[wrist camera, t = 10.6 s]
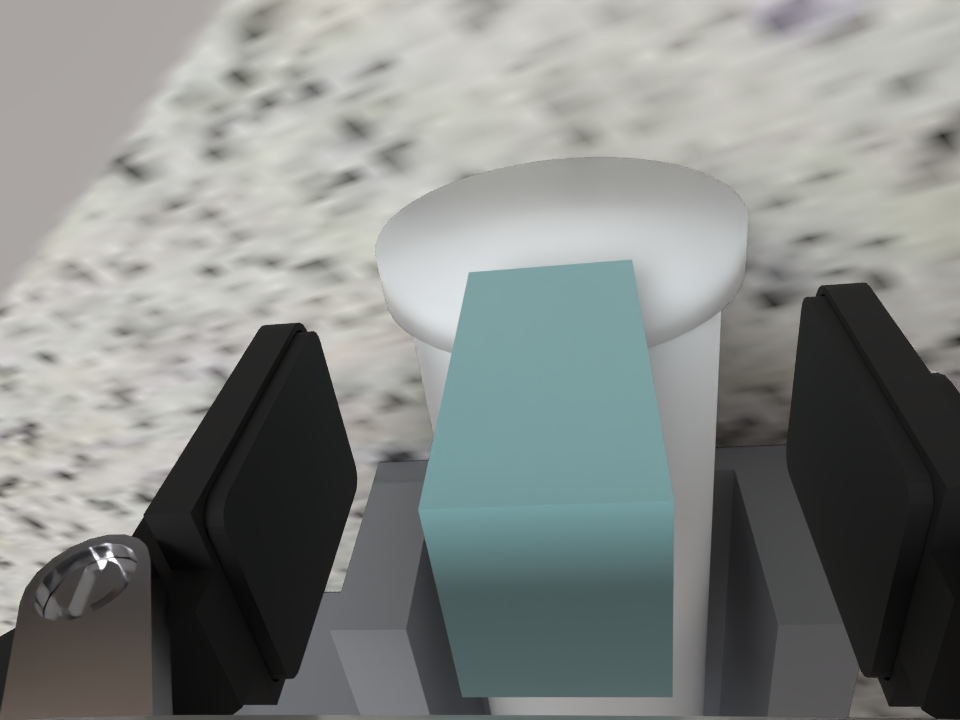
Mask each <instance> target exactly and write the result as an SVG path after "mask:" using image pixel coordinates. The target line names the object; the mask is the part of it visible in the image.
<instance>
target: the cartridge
mask: <svg viewBox="0 0 960 720" xmlns="http://www.w3.org/2000/svg"><path fill="white" fill-rule="evenodd" d="M747 234H748V212H747V209H746V206H745V204H744V202H743V201H742V199H741V198H740V196H739V195H738V194H737V193H736V192H735V191H733V190H732V189H731V188H730V187H729V186H727V185H726V184H724V183H722V182H721V181H719V180H717V179H715V178H713V177H711V176H709V175H707V174H704V173H701V172H698V171H696V170H693V169H690V168H686V167H682V166H678V165H674V164H669V163H663V162H658V161H651V160H643V159H633V158H617V157H586V158H567V159H555V160H546V161H538V162H531V163H525V164H519V165H514V166H509V167H504V168H500V169H495V170H492V171H488V172H484V173H480V174H477V175H474V176H470V177H467V178H464V179H461V180H458V181H456V182H453V183H450V184H448V185H445V186H443V187H441V188H438V189H436V190H434V191H432V192H429V193H428V194H426V195H424V196H422V197H420V198H418V199H417V200H415V201H413V202H412V203H410V204H409V205H407V206H406V207H404V208H403V209H402V210H400V211H399V212H398V213H397V214H396V215H394V216H393V217H392V218H391V219H390V221H389V222H388V223H387V224H386V225H385V226H384V228H383V229H382V231H381V233H380V234H379V236H378V239H377V242H376V245H375V256H376V261H377V265H378V270H379V274H380V279H381V283H382V288H383V292H384V297H385V301H386V304H387V307H388V311H389V312H390V314H391V315H392V317H393V319H394V320H395V322H396V323H397V324H398V325H400V326H401V327H402V328H403V329H404V330H405V331H406V332H407V333H409V334H410V335H412V336H413V338H414V343H415V347H416V352H417V357H418V362H419V367H420V372H421V377H422V381H423V386H424V391H425V396H426V401H427V406H428V410H429V415H430V420H431V425H432V430H433V435H434V438H433V443H432V447H431V452H430V457H429V461H428V466H427V471H426V475H425V480H424V485H423V489H422V494H421V499H420V503H419V508H418V511H419V516H420V520H421V524H422V528H423V533H424V537H425V541H426V545H427V550H428V554H429V558H430V562H431V567H432V571H433V575H434V579H435V584H436V588H437V592H438V596H439V601H440V605H441V609H442V613H443V618H444V622H445V626H446V630H447V635H448V639H449V643H450V647H451V652H452V656H453V660H454V664H455V668H456V673H457V677H458V681H459V685H460V690H461V694H462V697H488V701H489V706H490V711H491V715H593V716H703V711H704V689H705V666H706V644H707V621H708V599H709V576H710V554H711V531H712V509H713V486H714V464H715V442H716V419H717V397H718V374H719V352H720V329H721V310H722V309H723V308H724V307H725V306H726V305H727V304H728V303H729V302H730V301H731V300H732V299H733V298H734V296H735V295H736V293H737V292H738V290H739V288H740V287H741V285H742V282H743V279H744V275H745V266H746V250H747Z"/></svg>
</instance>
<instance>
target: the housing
mask: <svg viewBox="0 0 960 720" xmlns="http://www.w3.org/2000/svg"><path fill="white" fill-rule="evenodd" d="M786 446H787V445H772V446H750V447H727V448H715V464H714V486H713V509H712V531H711V554H710V576H709V599H708V621H707V644H706V666H705V689H704V711H703V716H733V717H840V718H848V716H849V711H850V707H851V702H852V698H853V693H854V688H855V684H856V679H857V674H858V670H859V665H858V662H857V659H856V657H855V654H854V651H853V648H852V646H851V643H850V640H849V637H848V635H847V632H846V629H845V626H844V624H843V621H842V618H841V615H840V613H839V610H838V607H837V605H836V602H835V599H834V596H833V594H832V591H831V588H830V585H829V583H828V580H827V577H826V574H825V572H824V569H823V566H822V563H821V561H820V558H819V555H818V553H817V550H816V547H815V544H814V542H813V539H812V536H811V533H810V531H809V528H808V525H807V522H806V520H805V517H804V514H803V511H802V509H801V506H800V503H799V501H798V498H797V495H796V492H795V490H794V487H793V484H792V481H791V479H790V476H789V472H788V468H787V460H786ZM427 466H428V461H406V462H383V463H379V464H378V468H377V471H376V475H375V478H374V481H373V485H372V488H371V492H370V495H369V498H368V502H367V505H366V509H365V512H364V516H363V519H362V522H361V526H360V529H359V533H358V536H357V539H356V543H355V546H354V550H353V553H352V556H351V560H350V563H349V567H348V570H347V573H346V577H345V580H344V584H343V587H342V590H341V592H330V593H324V594H323V597H322V600H321V603H320V606H319V610H318V613H317V616H316V619H315V622H314V625H313V628H312V632H311V635H310V638H309V641H308V644H307V647H306V651H305V654H304V657H303V660H302V663H301V666H300V669H299V672H298V674H297V675H296V677H295V678H293V679H286V680H285V683H284V686H283V689H282V692H281V695H280V698H279V701H278V704H277V705H243V708H241V709H240V710H239V711H237V712H236V713H234V714H233V715H491V711H490V706H489V701H488V697H462V694H461V690H460V685H459V681H458V677H457V673H456V668H455V664H454V660H453V656H452V652H451V647H450V643H449V639H448V635H447V630H446V626H445V622H444V618H443V613H442V609H441V605H440V601H439V596H438V592H437V588H436V584H435V579H434V575H433V571H432V567H431V562H430V558H429V554H428V550H427V545H426V541H425V537H424V533H423V528H422V524H421V520H420V516H419V511H418V508H419V503H420V499H421V494H422V489H423V485H424V480H425V475H426V471H427Z"/></svg>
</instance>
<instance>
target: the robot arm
mask: <svg viewBox="0 0 960 720" xmlns="http://www.w3.org/2000/svg"><path fill="white" fill-rule="evenodd" d="M786 460H787V468H788V472H789V476H790V479H791V481H792V484H793V487H794V490H795V492H796V495H797V498H798V501H799V503H800V506H801V509H802V511H803V514H804V517H805V520H806V522H807V525H808V528H809V531H810V533H811V536H812V539H813V542H814V544H815V547H816V550H817V553H818V555H819V558H820V561H821V563H822V566H823V569H824V572H825V574H826V577H827V580H828V583H829V585H830V588H831V591H832V594H833V596H834V599H835V602H836V605H837V607H838V610H839V613H840V615H841V618H842V621H843V624H844V626H845V629H846V632H847V635H848V637H849V640H850V643H851V646H852V648H853V651H854V654H855V657H856V659H857V662H858V665H859V667H860V669H861V672H862V673H863V675H864V676H865V677H867V678H878V679H879V681H880V684H881V687H882V689H883V692H884V694H885V697H886V700H887V702H888V705H889V706H892V707H921V709H922V710H923V711H925V712H926V713H928V714H929V715H931V716H933V717H934V718H936V719H921V718H840V717H733V716H593V715H233V714H234V713H236V712H237V711H239V710H240V709H241V708H243V705H277V704H278V701H279V698H280V695H281V692H282V689H283V686H284V683H285V680H286V679H293V678H295V677H296V675H297V674H298V672H299V669H300V666H301V663H302V660H303V657H304V654H305V651H306V647H307V644H308V641H309V638H310V635H311V632H312V628H313V625H314V622H315V619H316V616H317V613H318V610H319V606H320V603H321V600H322V597H323V594H324V591H325V587H326V584H327V581H328V578H329V575H330V572H331V568H332V565H333V562H334V559H335V556H336V553H337V549H338V546H339V543H340V540H341V537H342V534H343V530H344V527H345V524H346V521H347V518H348V515H349V512H350V508H351V505H352V502H353V499H354V496H355V492H356V488H357V471H356V466H355V462H354V459H353V455H352V452H351V448H350V445H349V441H348V438H347V434H346V431H345V427H344V424H343V420H342V417H341V413H340V410H339V406H338V402H337V399H336V395H335V392H334V388H333V385H332V381H331V378H330V374H329V371H328V367H327V364H326V360H325V357H324V353H323V350H322V346H321V342H320V339H319V337H318V335H317V333H316V332H314V331H311V332H307V330H306V328H305V327H304V325H303V324H301V323H289V324H275V325H264V326H262V327H261V328H260V329H259V330H258V332H257V334H256V335H255V337H254V338H253V340H252V342H251V343H250V345H249V346H248V348H247V350H246V351H245V353H244V354H243V356H242V358H241V359H240V361H239V362H238V364H237V366H236V367H235V369H234V370H233V372H232V374H231V375H230V377H229V378H228V380H227V382H226V383H225V385H224V387H223V388H222V390H221V391H220V393H219V395H218V396H217V398H216V399H215V401H214V403H213V404H212V406H211V407H210V409H209V411H208V412H207V414H206V415H205V417H204V419H203V420H202V422H201V423H200V425H199V427H198V428H197V430H196V431H195V433H194V435H193V436H192V438H191V439H190V441H189V443H188V444H187V446H186V447H185V449H184V451H183V452H182V454H181V456H180V457H179V459H178V460H177V462H176V464H175V465H174V467H173V468H172V470H171V472H170V473H169V475H168V476H167V478H166V480H165V481H164V483H163V484H162V486H161V488H160V489H159V491H158V492H157V494H156V496H155V497H154V499H153V500H152V502H151V504H150V505H149V507H148V508H147V510H146V512H145V513H144V517H143V519H142V521H141V522H140V524H139V525H138V527H137V529H136V530H135V532H134V533H133V535H132V536H129V535H125V534H122V535H105V536H101V537H97V538H92V539H89V540H87V541H84V542H82V543H80V544H77V545H75V546H73V547H70V548H69V549H67V550H66V551H64V552H62V553H61V554H59V555H58V556H56V557H55V558H53V559H52V560H51V561H49V562H48V563H47V564H46V565H45V566H44V567H43V568H42V569H40V570H39V571H38V572H37V573H36V575H35V576H34V577H33V579H32V580H31V581H30V583H29V584H28V585H27V587H26V588H25V591H24V593H23V596H22V598H21V601H20V605H19V610H18V616H17V622H16V627H15V628H14V629H13V630H11V631H9V632H7V633H6V634H4V635H2V636H0V720H960V393H959V392H958V390H957V389H956V388H955V386H954V385H953V384H952V382H951V381H950V380H949V379H948V378H947V377H946V376H945V375H942V374H939V373H930V371H929V370H928V368H927V367H926V365H925V364H924V363H923V361H922V360H921V358H920V357H919V356H918V354H917V353H916V351H915V350H914V348H913V347H912V346H911V344H910V343H909V341H908V340H907V339H906V337H905V336H904V334H903V333H902V331H901V330H900V329H899V327H898V326H897V324H896V323H895V322H894V320H893V319H892V317H891V316H890V314H889V313H888V312H887V310H886V309H885V307H884V306H883V305H882V303H881V302H880V300H879V299H878V297H877V296H876V295H875V293H874V292H873V290H872V289H871V288H870V286H869V285H868V284H867V283H852V284H837V285H823V286H820V287H819V289H818V291H817V294H816V297H805V299H804V300H803V303H802V308H801V317H800V327H799V336H798V345H797V354H796V363H795V373H794V382H793V391H792V400H791V410H790V419H789V428H788V437H787V446H786Z"/></svg>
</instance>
